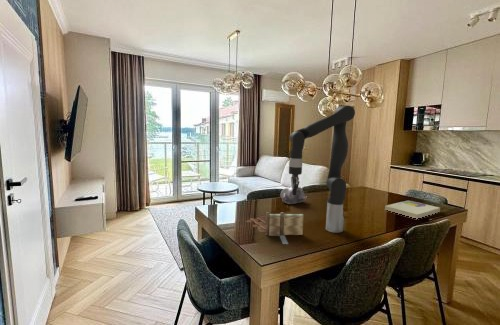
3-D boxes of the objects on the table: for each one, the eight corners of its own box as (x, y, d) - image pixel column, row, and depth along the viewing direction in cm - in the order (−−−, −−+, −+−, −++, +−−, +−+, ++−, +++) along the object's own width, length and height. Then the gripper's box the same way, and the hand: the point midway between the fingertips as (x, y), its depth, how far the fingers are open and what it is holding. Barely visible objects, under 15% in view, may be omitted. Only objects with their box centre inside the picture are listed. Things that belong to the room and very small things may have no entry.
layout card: (300, 233, 145) (300, 232, 145) (308, 244, 130) (308, 243, 130) (260, 233, 144) (260, 232, 144) (263, 244, 129) (263, 244, 129)
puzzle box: (384, 211, 195) (417, 220, 174) (384, 205, 194) (417, 214, 174) (408, 205, 213) (440, 213, 192) (408, 200, 212) (441, 207, 192)
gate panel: (284, 234, 140) (285, 215, 139) (283, 233, 142) (284, 214, 141) (302, 234, 141) (303, 215, 140) (301, 233, 143) (302, 214, 142)
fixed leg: (283, 233, 143) (284, 212, 141) (283, 235, 140) (284, 213, 139) (265, 233, 142) (265, 212, 140) (265, 235, 140) (266, 213, 138)
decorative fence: (263, 218, 170) (244, 221, 164) (263, 216, 170) (244, 219, 163) (282, 230, 150) (261, 234, 143) (282, 228, 150) (261, 232, 143)
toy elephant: (297, 200, 221) (295, 184, 222) (310, 201, 206) (308, 184, 207) (279, 205, 211) (277, 187, 212) (292, 206, 196) (290, 187, 197)
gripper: (304, 167, 137) (303, 197, 139) (299, 164, 150) (298, 192, 152) (291, 167, 137) (290, 197, 139) (287, 164, 150) (286, 192, 152)
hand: (294, 194), depth 146 cm, fingers closed
